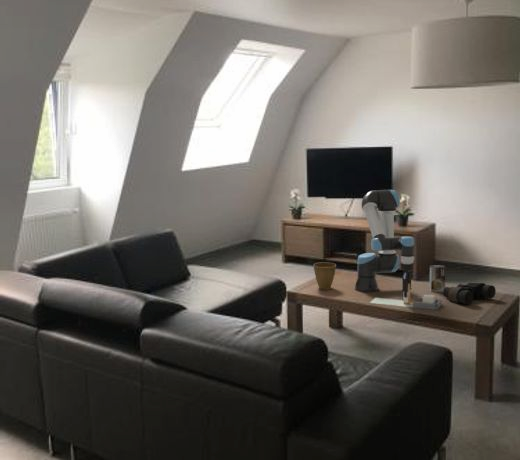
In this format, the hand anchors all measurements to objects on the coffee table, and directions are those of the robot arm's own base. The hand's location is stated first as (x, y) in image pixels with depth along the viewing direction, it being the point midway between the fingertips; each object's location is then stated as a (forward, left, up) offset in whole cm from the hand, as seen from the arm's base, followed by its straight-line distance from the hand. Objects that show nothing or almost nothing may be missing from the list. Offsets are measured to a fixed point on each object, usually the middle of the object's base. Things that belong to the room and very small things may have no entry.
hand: (406, 301), depth 368 cm
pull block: (+7, 0, -2) cm, 7 cm away
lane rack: (-1, 0, -2) cm, 2 cm away
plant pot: (-59, +18, -2) cm, 62 cm away
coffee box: (+10, +39, -2) cm, 40 cm away
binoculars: (+30, +24, -3) cm, 39 cm away
